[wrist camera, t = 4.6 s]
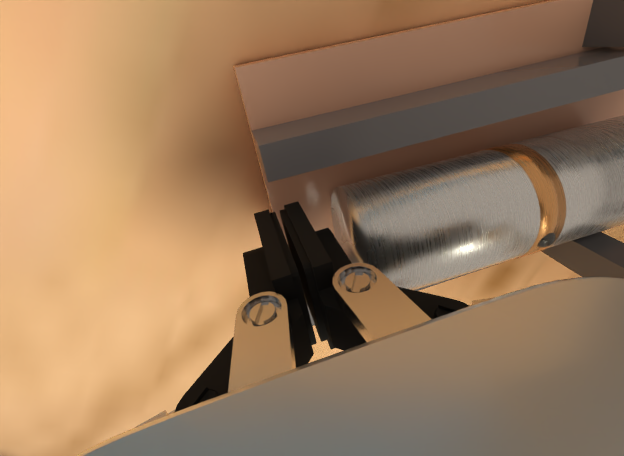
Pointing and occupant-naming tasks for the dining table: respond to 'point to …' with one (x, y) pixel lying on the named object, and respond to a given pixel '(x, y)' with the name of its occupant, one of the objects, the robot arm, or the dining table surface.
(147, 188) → the dining table surface
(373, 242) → the steel tube
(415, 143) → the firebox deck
